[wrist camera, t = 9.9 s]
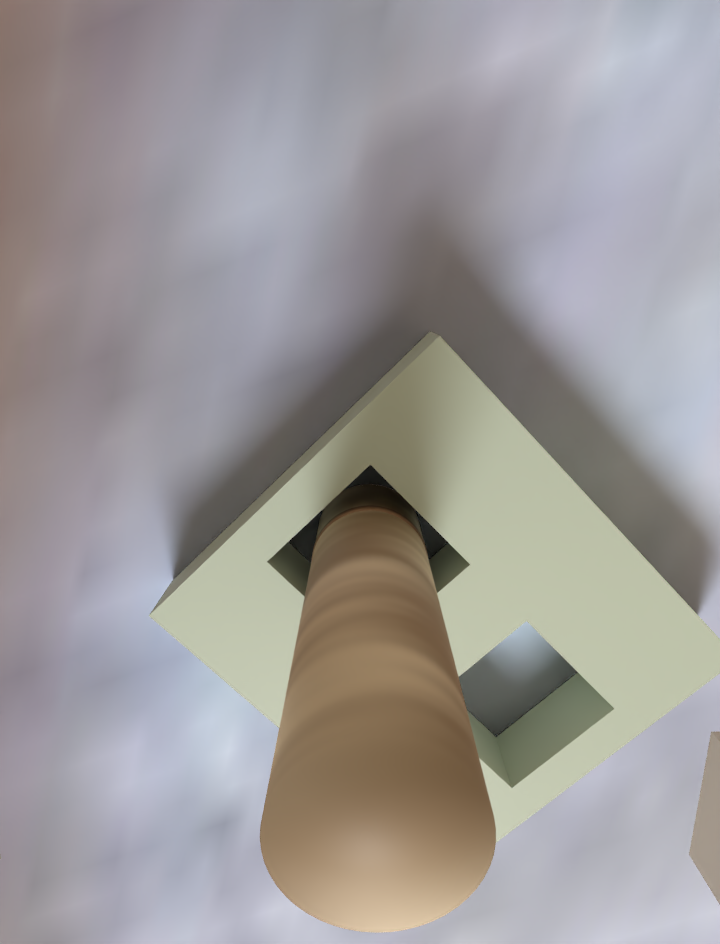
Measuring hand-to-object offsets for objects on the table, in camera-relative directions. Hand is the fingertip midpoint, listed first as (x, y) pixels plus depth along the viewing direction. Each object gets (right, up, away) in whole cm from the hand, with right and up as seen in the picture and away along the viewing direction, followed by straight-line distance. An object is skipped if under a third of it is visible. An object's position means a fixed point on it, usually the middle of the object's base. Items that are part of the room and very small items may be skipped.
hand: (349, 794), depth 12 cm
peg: (+1, +3, +14) cm, 14 cm away
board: (+3, +1, +14) cm, 15 cm away
